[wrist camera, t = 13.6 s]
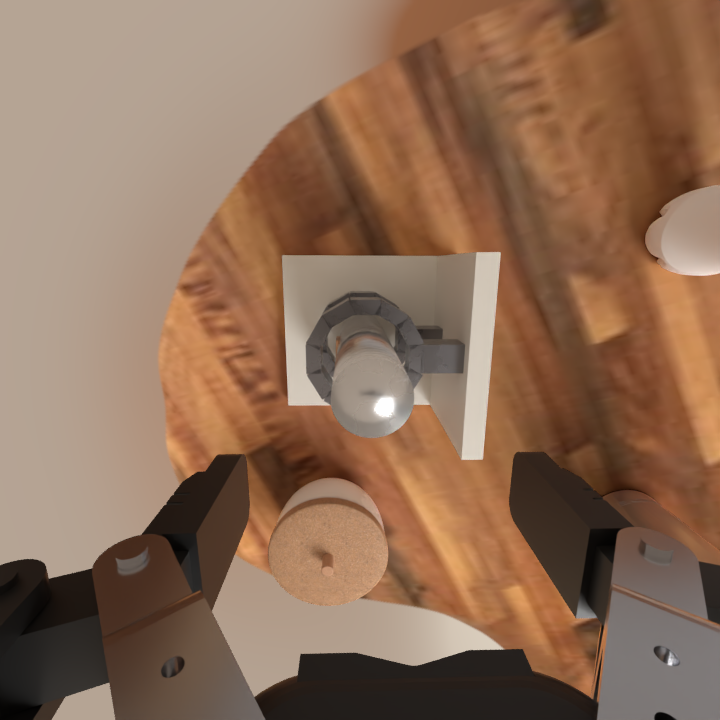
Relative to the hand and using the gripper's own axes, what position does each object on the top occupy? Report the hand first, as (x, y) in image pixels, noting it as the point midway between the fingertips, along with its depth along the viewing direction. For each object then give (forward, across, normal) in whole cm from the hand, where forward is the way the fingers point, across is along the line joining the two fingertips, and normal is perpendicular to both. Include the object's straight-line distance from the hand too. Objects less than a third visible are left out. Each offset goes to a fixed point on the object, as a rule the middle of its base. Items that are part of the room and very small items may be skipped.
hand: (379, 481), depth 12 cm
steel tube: (+25, 0, 0) cm, 25 cm away
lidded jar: (+27, +3, +19) cm, 33 cm away
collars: (+24, -2, 0) cm, 24 cm away
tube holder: (+27, 0, 0) cm, 27 cm away
